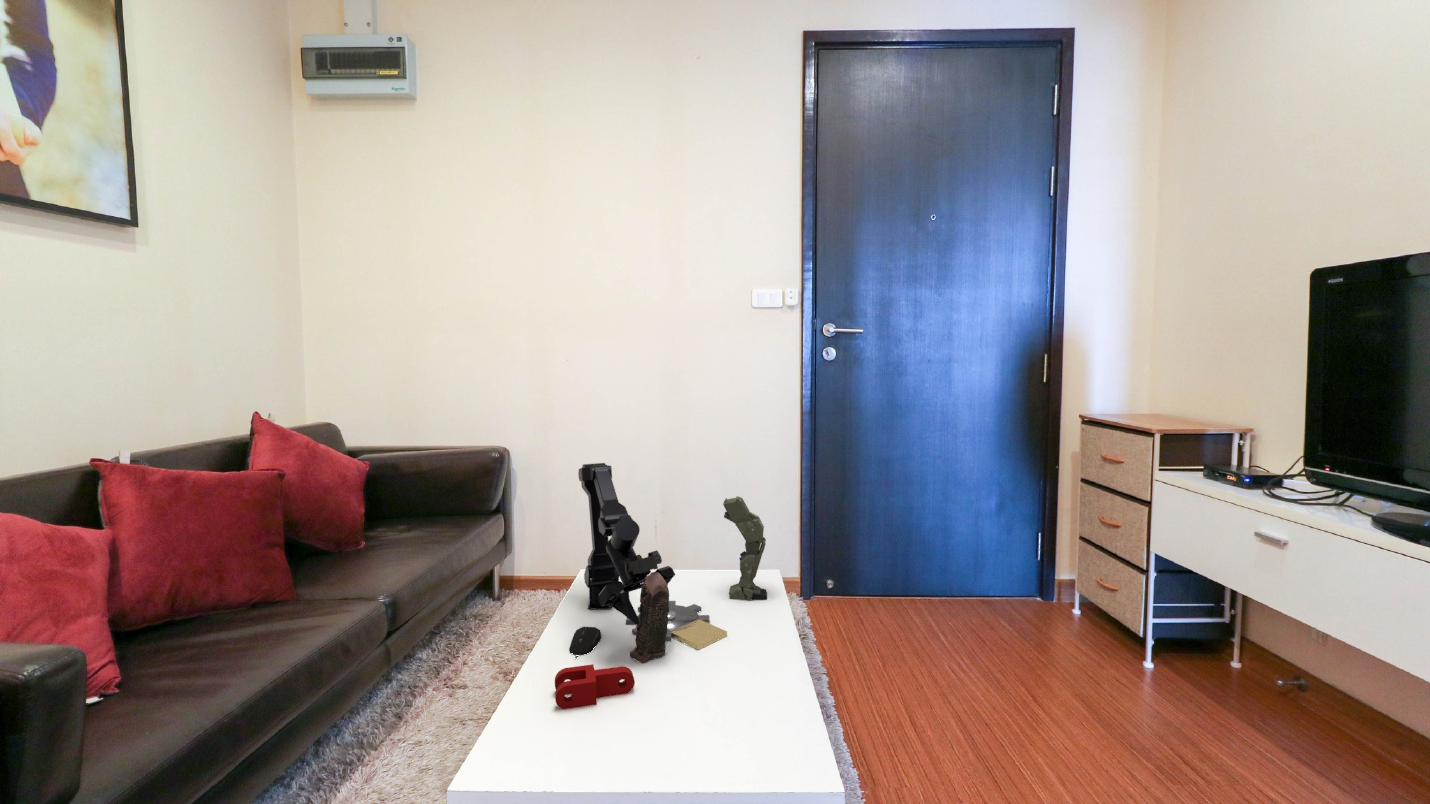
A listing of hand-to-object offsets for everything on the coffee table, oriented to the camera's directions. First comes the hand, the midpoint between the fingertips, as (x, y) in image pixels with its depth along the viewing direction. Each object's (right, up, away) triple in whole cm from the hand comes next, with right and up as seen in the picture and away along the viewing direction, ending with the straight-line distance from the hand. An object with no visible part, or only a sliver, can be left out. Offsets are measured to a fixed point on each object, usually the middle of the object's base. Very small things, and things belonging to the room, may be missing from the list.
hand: (653, 618), depth 145 cm
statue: (-1, -10, +2) cm, 10 cm away
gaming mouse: (-17, -10, +7) cm, 21 cm away
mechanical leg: (+23, -6, +37) cm, 44 cm away
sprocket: (+4, -8, +18) cm, 20 cm away
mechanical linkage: (-11, -11, -14) cm, 21 cm away
